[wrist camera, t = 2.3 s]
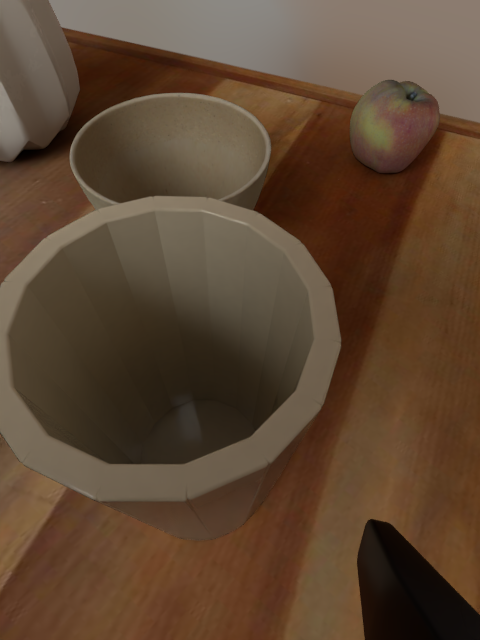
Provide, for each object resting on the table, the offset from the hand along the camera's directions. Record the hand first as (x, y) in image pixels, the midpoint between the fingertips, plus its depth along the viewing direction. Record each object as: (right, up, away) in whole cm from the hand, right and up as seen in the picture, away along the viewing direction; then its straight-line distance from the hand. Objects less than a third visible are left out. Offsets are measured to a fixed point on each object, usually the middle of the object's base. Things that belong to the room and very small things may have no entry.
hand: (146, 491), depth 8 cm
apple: (+13, +16, +23) cm, 30 cm away
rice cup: (0, -3, +10) cm, 10 cm away
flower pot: (-2, +8, +17) cm, 19 cm away
